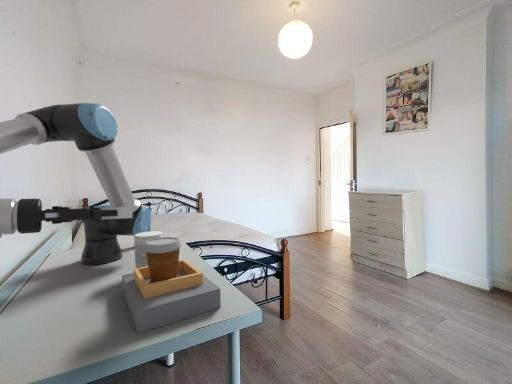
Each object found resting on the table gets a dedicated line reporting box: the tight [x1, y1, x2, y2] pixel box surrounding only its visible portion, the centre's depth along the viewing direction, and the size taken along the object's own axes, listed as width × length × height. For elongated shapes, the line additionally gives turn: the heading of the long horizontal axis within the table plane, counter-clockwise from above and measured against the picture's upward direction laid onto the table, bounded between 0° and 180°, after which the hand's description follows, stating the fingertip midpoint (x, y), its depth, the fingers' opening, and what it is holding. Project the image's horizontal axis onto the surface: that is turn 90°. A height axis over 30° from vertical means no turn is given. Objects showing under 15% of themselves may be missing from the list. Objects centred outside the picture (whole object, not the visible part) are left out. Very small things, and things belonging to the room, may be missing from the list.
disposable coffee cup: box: [144, 236, 182, 283], centre depth 70 cm, size 10×10×12 cm
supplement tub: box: [133, 230, 164, 269], centre depth 92 cm, size 10×10×15 cm
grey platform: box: [121, 258, 222, 334], centre depth 75 cm, size 30×20×8 cm, turn 34°
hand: (126, 212), depth 68 cm, fingers open, 13 cm apart
